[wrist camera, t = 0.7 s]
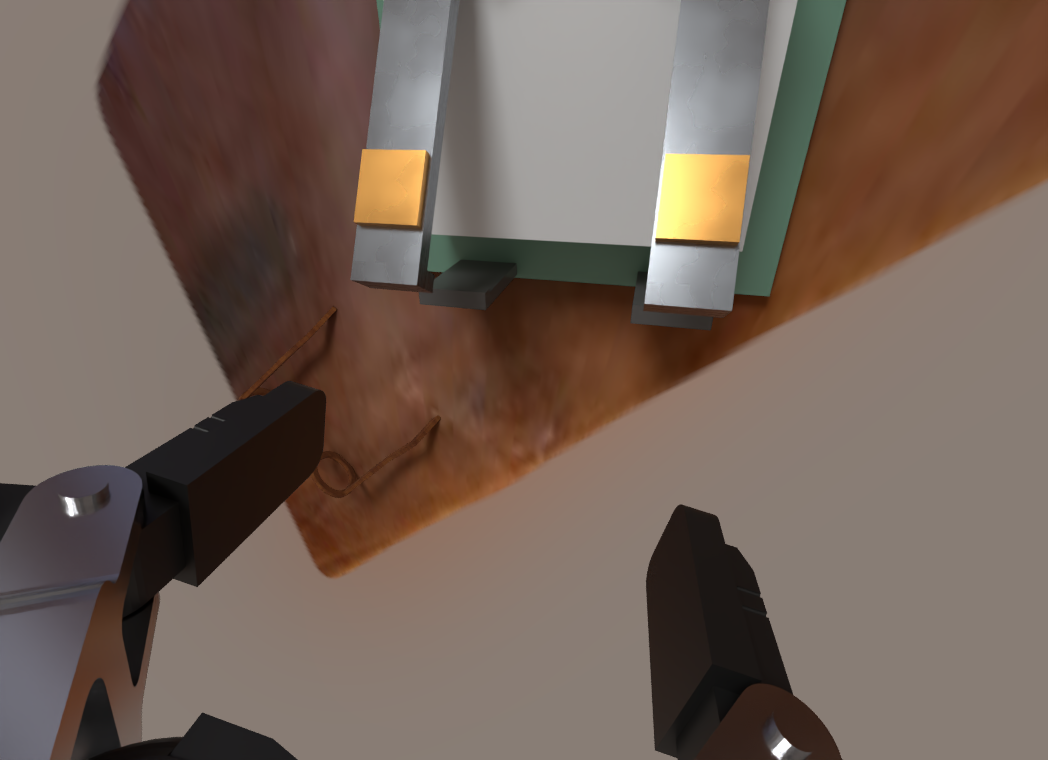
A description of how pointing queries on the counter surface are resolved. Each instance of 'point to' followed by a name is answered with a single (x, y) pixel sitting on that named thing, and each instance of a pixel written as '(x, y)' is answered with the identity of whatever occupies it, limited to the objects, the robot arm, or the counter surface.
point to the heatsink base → (599, 144)
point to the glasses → (329, 454)
